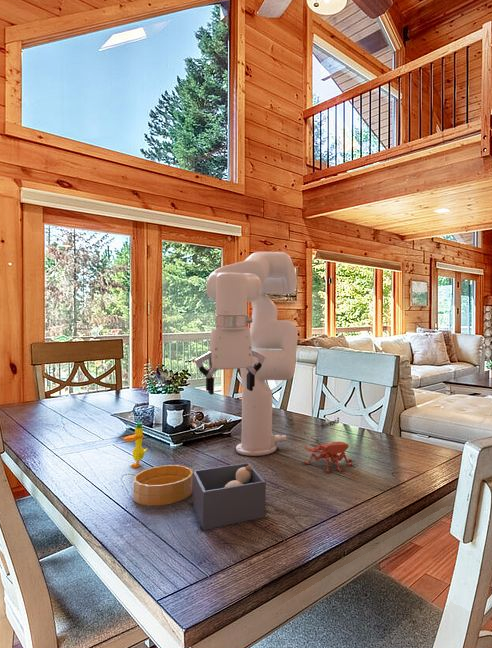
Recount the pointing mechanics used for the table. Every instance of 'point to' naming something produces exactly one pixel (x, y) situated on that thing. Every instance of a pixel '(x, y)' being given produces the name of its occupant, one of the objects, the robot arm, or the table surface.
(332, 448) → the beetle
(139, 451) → the toy figure
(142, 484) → the bowl
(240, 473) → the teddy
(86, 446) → the table surface
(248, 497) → the bin
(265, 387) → the robot arm
